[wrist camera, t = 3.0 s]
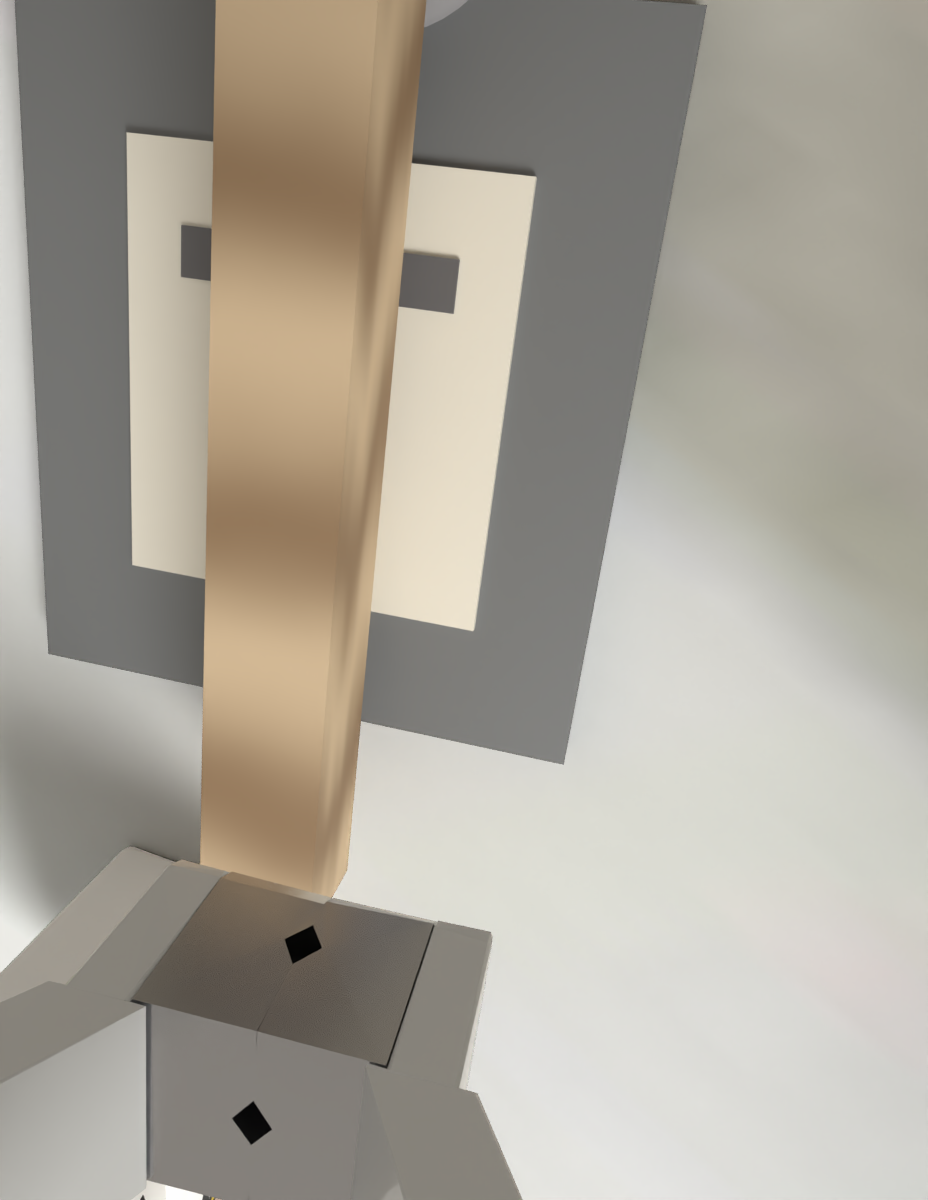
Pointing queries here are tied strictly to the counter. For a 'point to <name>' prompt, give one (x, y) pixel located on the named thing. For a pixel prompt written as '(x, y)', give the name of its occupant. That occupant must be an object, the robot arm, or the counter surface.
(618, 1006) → the counter surface
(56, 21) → the label board
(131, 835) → the counter surface
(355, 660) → the swing arm
